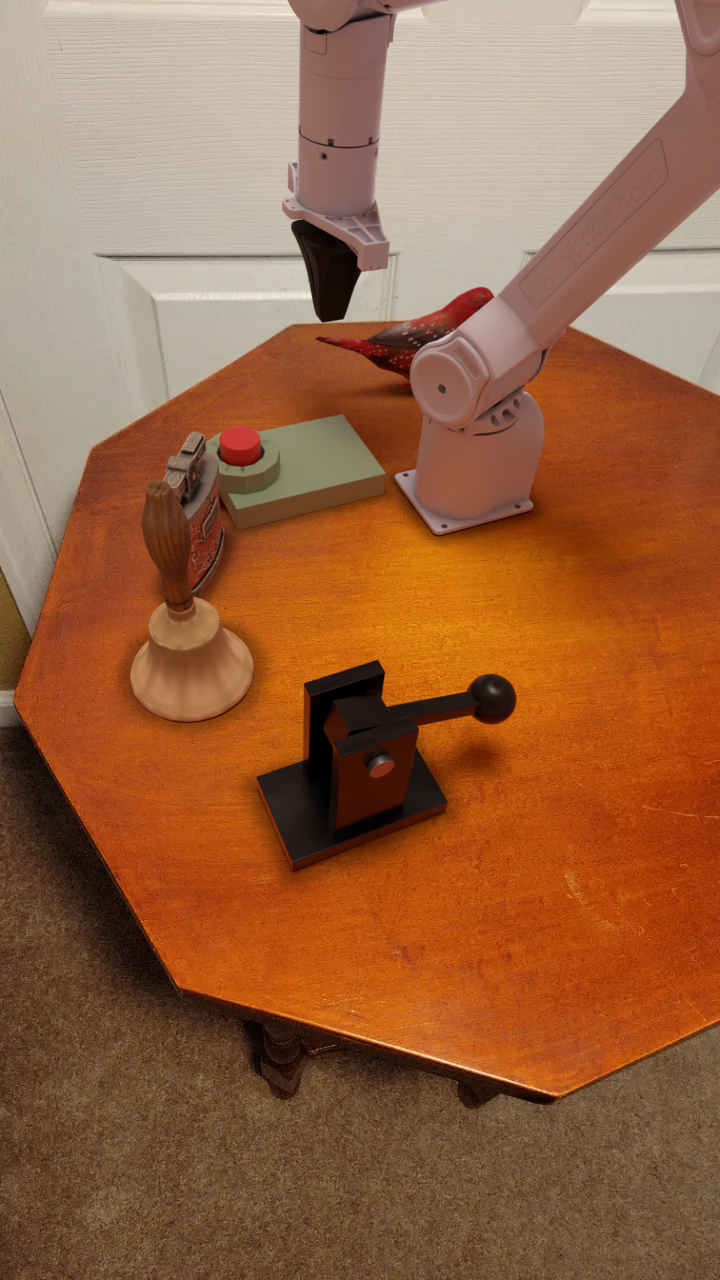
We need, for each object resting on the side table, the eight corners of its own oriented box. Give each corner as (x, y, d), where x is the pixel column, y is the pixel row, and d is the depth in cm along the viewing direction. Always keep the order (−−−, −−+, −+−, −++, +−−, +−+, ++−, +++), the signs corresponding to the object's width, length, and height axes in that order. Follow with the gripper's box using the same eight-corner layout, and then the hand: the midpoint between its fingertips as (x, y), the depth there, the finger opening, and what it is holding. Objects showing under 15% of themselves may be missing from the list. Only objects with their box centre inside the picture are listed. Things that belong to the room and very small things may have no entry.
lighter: (200, 605, 59) (186, 498, 51) (156, 596, 59) (135, 489, 51) (233, 533, 64) (225, 427, 56) (192, 526, 64) (179, 419, 57)
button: (253, 440, 66) (252, 422, 65) (266, 463, 64) (265, 445, 63) (215, 448, 65) (213, 430, 64) (228, 471, 63) (226, 453, 62)
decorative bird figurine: (492, 392, 79) (513, 293, 72) (316, 406, 76) (319, 304, 68) (483, 376, 81) (502, 278, 74) (311, 389, 78) (312, 288, 70)
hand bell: (147, 738, 51) (101, 556, 39) (118, 645, 56) (68, 457, 44) (271, 700, 54) (263, 518, 42) (232, 614, 58) (216, 428, 46)
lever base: (401, 735, 53) (419, 637, 45) (445, 811, 49) (472, 719, 42) (256, 786, 49) (249, 691, 42) (292, 871, 46) (291, 784, 39)
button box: (341, 434, 73) (343, 396, 70) (384, 494, 68) (388, 455, 65) (192, 467, 69) (187, 427, 66) (225, 533, 64) (221, 494, 61)
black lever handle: (488, 692, 50) (507, 660, 48) (513, 730, 48) (534, 697, 46) (317, 725, 44) (331, 689, 42) (339, 768, 43) (354, 734, 41)
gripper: (249, 100, 59) (254, 281, 69) (326, 179, 51) (318, 372, 61) (338, 94, 61) (329, 271, 71) (425, 169, 53) (401, 357, 63)
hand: (330, 317), depth 66 cm, fingers closed
